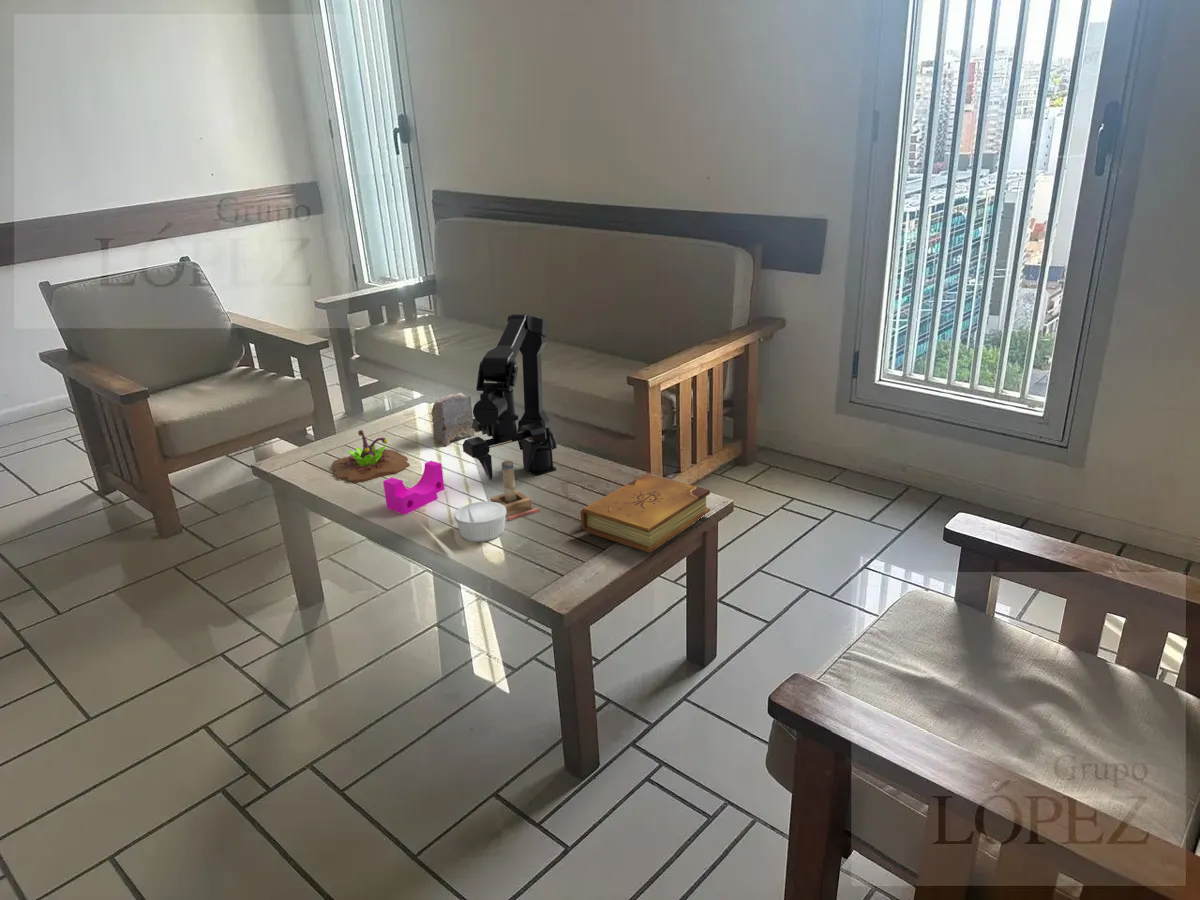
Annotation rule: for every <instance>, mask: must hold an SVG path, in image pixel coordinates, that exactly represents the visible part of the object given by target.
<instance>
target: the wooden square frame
mask: <svg viewBox="0 0 1200 900" xmlns="http://www.w3.org/2000/svg"><path fill="white" fill-rule="evenodd" d="M489 500H490V502H497V503H500V504H502V505H503V506H505V508H506V516H505V518H507V520H508V521H512V520H515V519H520V518H522V517H526V516H528V515H532V514H535V513H538V512H541V508H539V507H536V508H533V507H532V499H531V498H530V497H528V496H527V495H525V494H524V493H522V492H520V491H519V490H518V489H516V500H517V501H515V502H512V503H508V504H506V503H505V493H501V494H499V495H494V496H492V497H490V499H489Z"/></svg>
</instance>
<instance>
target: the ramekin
mask: <svg viewBox="0 0 1200 900" xmlns="http://www.w3.org/2000/svg"><path fill="white" fill-rule="evenodd" d="M505 516H506V508H505V506H503V505H502V504H500V503H497V502H491V501H477V502H471V503H469V504H466V505H464V506H461V507H460V508H458V509H457V510H456V511H455V513H454V521H455V522H456V524H457V527H458V531H459V533H460V535H461V537H462V538H463V539H465V540H466V541H469V542H473V543H475V542H477V543H478V542H487V541H491V540H494V539H496V538H499V537H500V536H501V535H502V534H503V532H504V531H505V527H506V517H505Z"/></svg>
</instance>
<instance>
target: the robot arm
mask: <svg viewBox="0 0 1200 900" xmlns="http://www.w3.org/2000/svg"><path fill="white" fill-rule="evenodd" d="M549 329H550V327H549V323H548V322H547V321H546V320H545V319H544V318H543V317H536V316H532V315H531V314H528V313H512V314H509V315H508V317H507V324H506V326H505V328H504V331H503V332H502V334H501V336H500V338H499V341H498V342H497V344H496V346H495V347H494V348H492V349H490V350H488V351H487V352H486V353H485V355H484V356H483V357H482V359H481V361H480V362H479V367H478V374H477V381H476V387H475V390H476V391H477V392H481V393H480V395H479V396H480V397H479V398H480V399H479V400H478V401H477V402H476V403H475V404H474V406H473V409H472V416H473V427H474V433H479V432H481V434H482V435H486V436H487V437H489V438H488V439H484V438H482V437H479V436H475V437H473V438H472V437H471V438H468V439H465V440H464V441H463V444H462V449H463V451H462V452H463V453H465V454H466V455H468V456H469V457H471V459H472V458H473V459H477V460H478V461H479V463H480V465H481V466H482V468H483V470H484V472H485V475H486V477H487V479H488V480H489V481H493V477H494V476H493V475H494V474H493V465H492V464H493V461H492V455H491V454H489V453H490V451H491V448H495V447H499V446H502V445H507V444H510V443H515V442H518V447H519V450H521V451H522V463H523V470H525V471H527V472H528V473H530V474H532V475H533V476H536V477H537V476H540V475H543V474H546V473H550V472H551V473H552V472H553V471H557V467H556V466H554V463H553V462H554V460H553V459H554V458H553V450H555V449H557V447H558V446H557V445H558V444H557V436H556V433H555V432H554V431H553V428H552V427H551V420H550V419H549V417H548V416H547V413H546V412H545V411H544V406H543V405H544V403H543V401H544V399H543V398H544V397H543V375H542V374H543V372H542V352H543V350H544V348H545V346H546V345H547V342H548V336H549V332H550V331H549ZM519 352H520V354H521V356H522V357H521V358H522V380H523V381H522V382H523V401H524V402H523V403H524V404H523V405H524V407H523V408H524V413H523V414H522V416H521V418H520V419H519V415H518V414H516V407H515V406H516V405H515V394H514V393H515V392H514V387H515V386H516V382H517V378H518V377H517V376H518V372H519V367H518V363H517V362H516V357H518V353H519ZM517 421H518V422H517ZM517 427H518V428H517ZM490 437H491V438H490Z"/></svg>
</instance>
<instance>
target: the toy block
mask: <svg viewBox="0 0 1200 900" xmlns="http://www.w3.org/2000/svg"><path fill="white" fill-rule="evenodd" d="M442 467H443V465H442V463H440V462H436V461H434V460H430V461H427V462H425V463H424V468H423V473H422V476H421V478H420V479H419V481H418V482H417V483H416V484H415V485H413V486H412V487H409V488H407V487H406V486H405V484H404V481H403V480H402V479H399V478H396V477H389V478H387V479H384V480H383V481H382V483H383V492H384V497H385V503H386V504H385V505H386V509H387V508H389V509H388V510H390V509H391V511H393V510H394V511H393V512H395V511H396V512H395V513H398V512H399V513H398V514H401V515H403V514H404V515H403V516H406V515H407V513H408V514H410V513H411V512H414V511H415V510H417V509H420V508H422V507H424V506H425V505H428V504H430V503H432V502H434V501H436V500H438V493H440V492H442V491H444V490H445V483H444V475H443V468H442ZM409 512H410V513H409ZM405 514H406V515H405Z"/></svg>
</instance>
